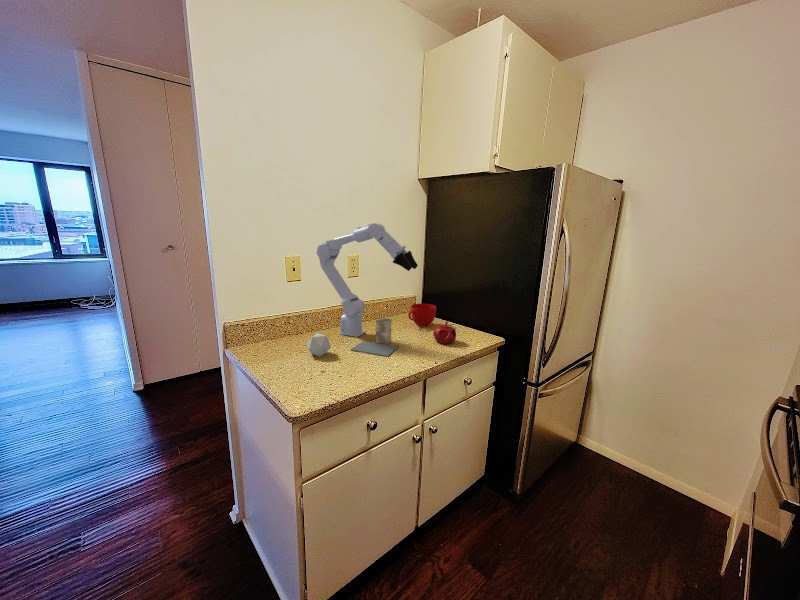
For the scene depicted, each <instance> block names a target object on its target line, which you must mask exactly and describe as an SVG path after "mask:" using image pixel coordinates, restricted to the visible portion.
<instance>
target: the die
mask: <svg viewBox="0 0 800 600" xmlns="http://www.w3.org/2000/svg"><path fill="white" fill-rule="evenodd" d="M306 343H307V348H308V351H309V353H311V354H312V355H314V356H317V357H319V358H322V356H324V355H325V354H326V353H327V352H328V351H329V350H330V349H331V348H332V347H331V344H330V340H329V338H328V336H327V335H325V334H322V333H318V332H317V333H315V335H313V336H312V337H311V338H310V339H308V340H307V341H306Z"/></svg>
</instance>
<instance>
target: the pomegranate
mask: <svg viewBox="0 0 800 600" xmlns="http://www.w3.org/2000/svg"><path fill="white" fill-rule="evenodd" d="M448 323H449V321H445V323H444V324H442V323H440V324H439V325H438V326H437V327H436V328H435V329H434V330H433V333H432V334H433V338H434V340H435V341H436V342H437V343H439V344H442V345H449V344H452V343H454V342H455V341H456V339H457V331H456V329H455V328H454V327H451V326H453V324H449V325H448Z"/></svg>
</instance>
